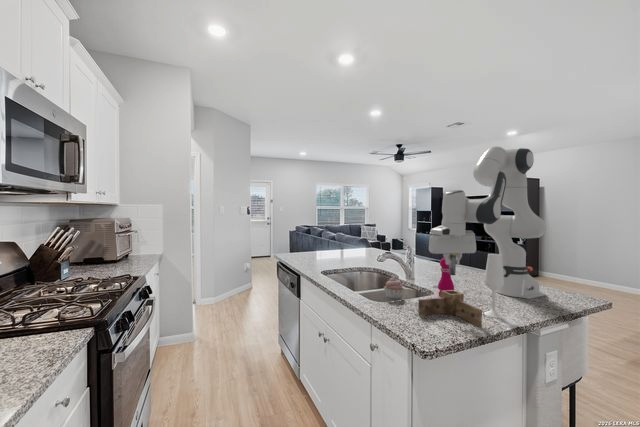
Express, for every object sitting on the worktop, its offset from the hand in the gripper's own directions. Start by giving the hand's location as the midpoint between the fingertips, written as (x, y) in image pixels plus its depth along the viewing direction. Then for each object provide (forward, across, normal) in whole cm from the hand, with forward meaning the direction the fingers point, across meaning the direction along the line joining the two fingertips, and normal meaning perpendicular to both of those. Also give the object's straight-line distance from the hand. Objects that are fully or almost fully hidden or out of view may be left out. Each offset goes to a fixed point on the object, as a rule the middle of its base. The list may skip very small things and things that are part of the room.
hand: (452, 264), depth 118 cm
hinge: (+19, +6, +6) cm, 21 cm away
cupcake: (+20, +14, -22) cm, 33 cm away
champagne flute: (+20, -15, +6) cm, 25 cm away
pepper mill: (+19, -12, -19) cm, 30 cm away
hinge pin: (+4, 0, 0) cm, 4 cm away
